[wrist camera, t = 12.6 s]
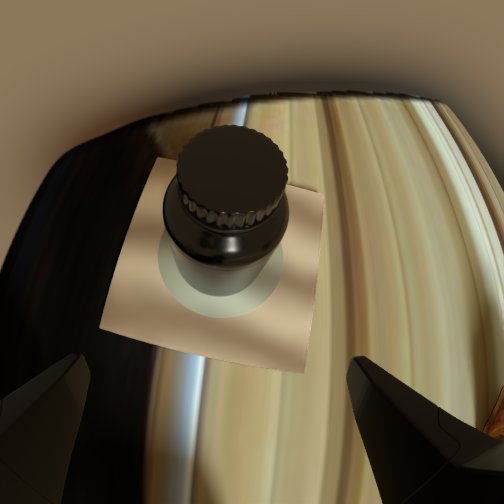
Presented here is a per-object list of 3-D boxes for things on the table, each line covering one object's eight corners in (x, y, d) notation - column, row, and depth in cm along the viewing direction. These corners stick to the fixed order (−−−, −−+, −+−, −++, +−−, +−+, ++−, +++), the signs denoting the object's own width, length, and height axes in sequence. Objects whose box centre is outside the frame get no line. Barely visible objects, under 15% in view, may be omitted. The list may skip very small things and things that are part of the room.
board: (299, 372, 22) (304, 373, 21) (103, 329, 20) (98, 327, 19) (320, 199, 28) (324, 193, 27) (158, 163, 26) (157, 156, 25)
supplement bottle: (161, 240, 23) (129, 138, 11) (234, 204, 25) (258, 94, 14) (202, 316, 21) (197, 269, 10) (278, 272, 23) (342, 194, 12)
